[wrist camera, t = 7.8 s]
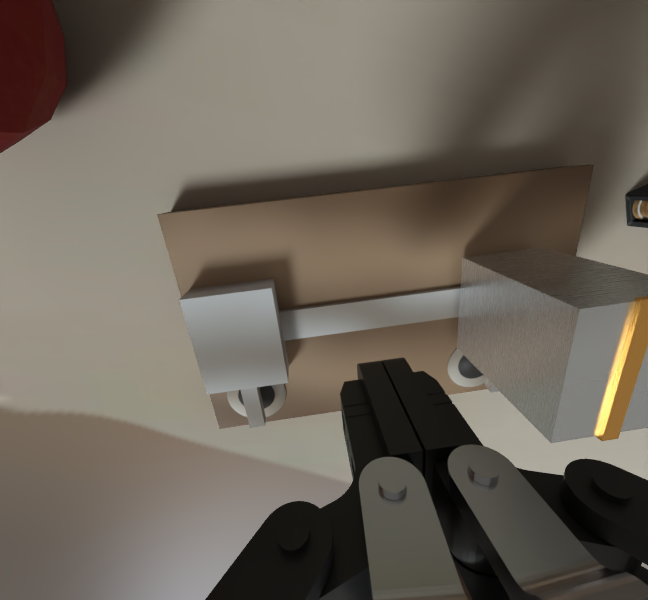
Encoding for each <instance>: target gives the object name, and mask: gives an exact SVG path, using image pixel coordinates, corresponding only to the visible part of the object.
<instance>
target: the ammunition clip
mask: <svg viewBox="0 0 648 600" xmlns="http://www.w3.org/2000/svg"><path fill="white" fill-rule="evenodd" d="M626 208H627V225H628V226H635V227H645V228H648V184H647V185H645V186H643V187H640V188H638V189H636V190H634V191H631V192H629V193H627V194H626Z"/></svg>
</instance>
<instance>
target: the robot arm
mask: <svg viewBox="0 0 648 600" xmlns="http://www.w3.org/2000/svg"><path fill="white" fill-rule="evenodd" d="M357 375H358V380H352V381H345V382H344V384H343V386H342V389H341V392H340V399H341V409H342V419H343V430H344V436H345V441H346V445H347V451H348V456H349V461H350V467H351V472H352V477H353V482H352V484H351V486H350V487H349V489H348V490H347V491H346V492H345V494H343V495H342V496H341V497H340V498H338V499H337V500H335V501H334V502H332V503H330V504H328V505H326V506H324V507H322V508H318V507H317V506H315V505H314V504H311V503H309V502H304V501H295V502H290V503H287V504H285V505H282V506H281V507H279V508H278V509H276V510H275V511H274V512H273V513H271V514H270V516H269V517H268V518H267V519H266V520H265V522H264V523H263V524H262V526H261V527H260V528H259V530H258V531H257V532H256V533H255V535H254V536H253V537H252V539H251V540H250V541H249V543H248V544H247V545H246V547H245V548H244V549H243V551H242V552H241V553H240V555H239V556H238V557H237V559H236V560H235V561H234V563H233V564H232V565H231V566H230V568H229V569H228V571H227V572H226V573H225V574H224V576H223V577H222V579H221V580H220V581H219V582H218V584H217V585H216V586H215V588H214V589H213V590H212V592H211V593H210V594H209V596H208V597H207V598H206V599H205V600H648V570H647V569H646V568H644V567H642V566H641V564H642V562H643V563H645V564H647V565H648V480H646V479H643V478H641V477H639V476H636V475H634V474H632V473H630V472H627V471H625V470H623V469H621V468H618V467H616V466H613V465H611V464H608V463H605V462H602V461H598V460H592V459H579V460H575V461H572V462H571V463H569V464H568V465H567V467H566V469H565V473H564V476H563V475H556V474H549V473H542V472H535V471H528V470H523V469H519V468H516V467H515V466H514V465H513V464H512V463H511V462H510V461H509V460H508V459H507V458H506V457H505V456H503V455H502V454H500V453H499V452H497V451H495V450H493V449H490V448H488V447H485V446H483V445H482V443H481V442H480V441H479V439H478V438H477V436H476V435H475V433H474V432H473V431H472V429H471V428H470V426H469V425H468V424H467V422H466V421H465V419H464V418H463V417H462V415H461V414H460V412H459V411H458V409H457V408H456V407H455V405H454V404H452V401H451V400H450V398H449V397H448V395H447V394H445V391H444V390H443V388H442V387H441V385H440V384H439V383H438V381H437V380H436V379H435V378H433V377H432V376H430V375H429V374H427V373H426V372H424V371H418V372H413V371H412V369H411V367H410V366H409V364H408V362H407V361H406V359H405V358H404V357H402V358H395V359H387V360H381V361H373V362H366V363H358V364H357Z"/></svg>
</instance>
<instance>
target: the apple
mask: <svg viewBox="0 0 648 600" xmlns="http://www.w3.org/2000/svg"><path fill="white" fill-rule="evenodd" d="M66 85H67V79H66V62H65V45H64V35H63V32H62V29H61V26H60V23H59V20H58V17H57V14H56V11H55V8H54V5H53V2H52V0H0V153H1V152H3V151H4V150H6V149H8V148H9V147H11V146H12V145H14V144H16V143H17V142H19V141H20V140H22V139H23V138H25V137H26V136H28V135H29V134H31V133H32V132H33V131H35V130H36V129H38V128H39V127H41V126H42V125H44V124H45V123H46V122H48V121H49V120H51V118H52V115H53V113H54V111H55V109H56V107H57V105H58V103H59V100H60V98H61V96H62V94H63V92H64V90H65V87H66Z"/></svg>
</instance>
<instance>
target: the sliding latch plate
mask: <svg viewBox="0 0 648 600" xmlns="http://www.w3.org/2000/svg"><path fill="white" fill-rule="evenodd" d="M593 166H594V165H581V166H566V167H557V168H548V169H540V170H531V171H522V172H513V173H505V174H496V175H487V176H478V177H470V178H461V179H452V180H443V181H435V182H426V183H417V184H408V185H400V186H391V187H382V188H374V189H365V190H356V191H347V192H339V193H330V194H321V195H312V196H304V197H295V198H286V199H277V200H269V201H260V202H251V203H242V204H234V205H225V206H216V207H207V208H199V209H190V210H181V211H173V212H167V213H163V214H158V219H159V222H160V226H161V229H162V233H163V236H164V239H165V243H166V246H167V250H168V253H169V256H170V260H171V263H172V267H173V270H174V274H175V277H176V280H177V284H178V287H179V291H180V294H181V298H180V299H179V302H180V305H181V308H182V312H183V315H184V319H185V322H186V325H187V329H188V332H189V335H190V339H191V342H192V346H193V349H194V352H195V356H196V359H197V362H198V366H199V369H200V372H201V376H202V379H203V383H204V386H205V389H206V393H207V394H210V397H211V400H212V403H213V407H214V410H215V414H216V417H217V421H218V424H219V427H220V429H221V428H228V427H234V426H241V425H248V424H249V427H250V428H251V427H258V426H265V422H268V421H275V420H281V419H288V418H295V417H302V416H308V415H315V414H322V413H328V412H335V411H342V409H341V399H340V392H341V389H342V386H343V384H344V382H345V381H352V380H358V375H357V364H358V363H366V362H373V361H381V360H387V359H395V358H402V357H404V358H405V359H406V361H407V362H408V364H409V366H410V367H411V369H412V371H413V372H418V371H424V372H426V373H427V374H429V375H430V376H432V377H433V378H435V379H436V380H437V381H438V383H439V384H440V385H441V387H442V388H443V390H444V391H445V394H447V395H449V394H456V393H463V392H470V391H476V390H483V389H488V388H487V387H486V386H485V379H486V377H485V376H484V375H483V374H482V373H481V372H480V371H479V370H478V369H477V368H476V367H475V366H474V365H473V364H472V363H471V362H470V361H469V360H468V359H467V358H466V357H465V356H464V355H463V354H462V353H461V352H460V351H459V350H458V349H457V338H458V322H459V305H460V289H461V272H462V258H463V257H471V256H479V255H487V254H495V253H502V252H510V251H518V250H526V249H534V248H546V249H550V250H554V251H558V252H562V253H566V254H569V255H573V256H576V252H577V247H578V242H579V237H580V232H581V227H582V221H583V216H584V211H585V206H586V201H587V196H588V191H589V186H590V181H591V176H592V171H593Z"/></svg>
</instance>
